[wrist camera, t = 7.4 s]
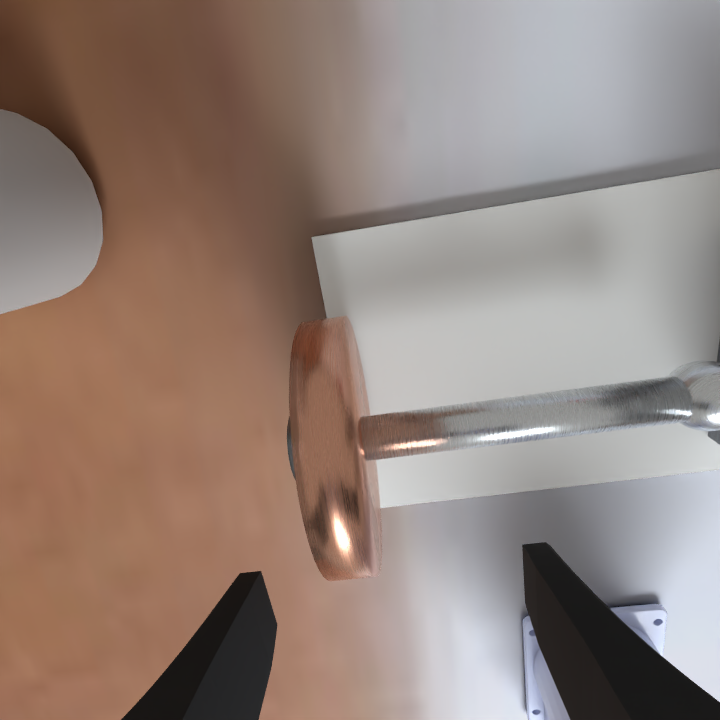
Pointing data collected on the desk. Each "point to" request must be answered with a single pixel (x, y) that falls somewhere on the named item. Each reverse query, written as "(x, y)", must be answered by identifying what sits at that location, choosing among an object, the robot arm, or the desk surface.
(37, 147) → the can
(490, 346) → the base board
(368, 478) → the bolt with copper washer
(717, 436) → the square hole plate
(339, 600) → the desk surface
